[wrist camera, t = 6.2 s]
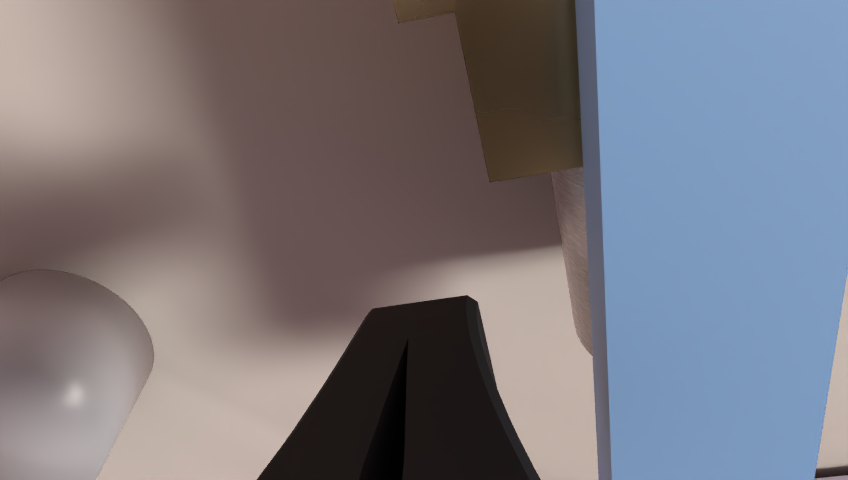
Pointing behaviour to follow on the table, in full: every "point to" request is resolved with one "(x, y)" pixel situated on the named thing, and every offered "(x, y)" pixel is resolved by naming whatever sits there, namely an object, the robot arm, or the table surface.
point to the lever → (713, 231)
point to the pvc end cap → (65, 374)
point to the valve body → (528, 108)
